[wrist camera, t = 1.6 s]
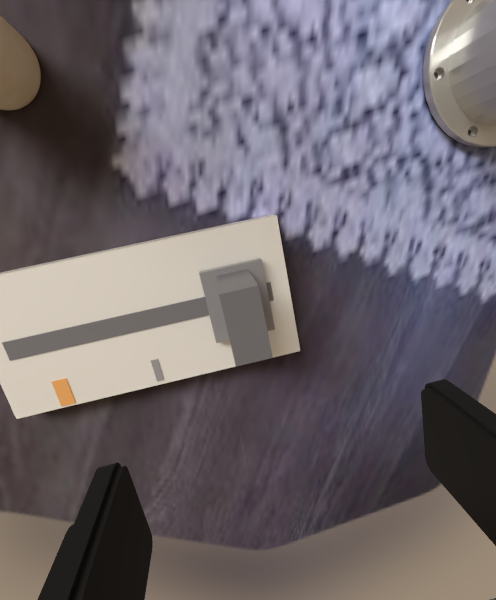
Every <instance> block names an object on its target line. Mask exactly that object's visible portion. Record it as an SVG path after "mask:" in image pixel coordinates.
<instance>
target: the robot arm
mask: <svg viewBox="0 0 496 600" xmlns="http://www.w3.org/2000/svg"><path fill="white" fill-rule="evenodd" d="M423 85H424V91H425V96H426V101H427V103H428V106H429V109H430V111H431V114H432V115H433V117H434V119H435V120H436V122H437V124H438V125H439V126H440V127H441V128H442V130H443V131H444V132H445V133H446V134H447V135H448V136H450V137H451V138H453V139H454V140H456V141H457V142H460V143H462V144H465V145H468V146H471V147H480V148H485V147H495V146H496V0H451V1H450V2H449V3H448V4H447V6H446V7H445V8H444V10H443V11H442V13H441V14H440V16H439V17H438V19H437V21H436V23H435V25H434V27H433V29H432V31H431V34H430V37H429V40H428V44H427V47H426V50H425V57H424V64H423ZM421 400H422V414H423V428H424V443H425V457H426V462H427V465H428V467H429V469H430V470H431V472H432V473H433V474H434V475H435V476H436V478H437V479H438V480H439V481H440V482H441V483H442V484H443V486H444V487H445V488H446V489H447V490H448V491H449V493H450V494H451V495H452V496H453V497H454V498H455V499H456V501H457V502H458V503H459V504H460V505H461V506H462V507H463V509H464V510H465V511H466V512H467V513H468V514H469V516H470V517H471V518H472V519H473V520H474V521H475V523H477V525H478V526H479V527H480V528H481V529H482V531H483V532H484V533H485V534H486V535H487V536H488V538H489V539H490V540H491V541H492V542H493V543H494V544H495V546H496V414H495V413H493V412H492V411H490V410H489V409H488V408H486V407H485V406H483V405H482V404H481V403H479V402H478V401H476V400H475V399H473V398H472V397H471V396H469V395H468V394H466V393H465V392H463V391H462V390H461V389H459V388H458V387H456V386H455V385H453V384H452V383H451V382H449V381H447V380H444V379H443V380H439V381H435V382H431V383H428V384H426V386H425V389H424V390H422V392H421ZM151 553H152V535H151V531H150V528H149V526H148V523H147V520H146V517H145V515H144V512H143V509H142V506H141V504H140V501H139V498H138V495H137V493H136V490H135V487H134V485H133V482H132V479H131V476H130V474H129V471H128V468H127V467H126V466H123V467H121V465H120V464H119V463H114V464H110V465H106V466H102V467H99V468H97V470H96V472H95V475H94V477H93V479H92V482H91V484H90V487H89V489H88V491H87V494H86V496H85V499H84V501H83V504H82V506H81V508H80V511H79V513H78V516H77V518H76V520H75V523H74V524H73V525H72V526H70V528H69V529H68V531H67V533H66V534H65V537H64V539H63V541H62V544H61V546H60V549H59V551H58V553H57V556H56V558H55V560H54V563H53V565H52V567H51V570H50V572H49V574H48V577H47V579H46V581H45V584H44V586H43V588H42V591H41V593H40V595H39V598H38V600H144V599H145V592H146V585H147V579H148V573H149V566H150V559H151ZM491 600H496V598H494V599H491Z"/></svg>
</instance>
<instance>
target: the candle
mask: <svg viewBox="0 0 496 600" xmlns="http://www.w3.org/2000/svg"><path fill="white" fill-rule="evenodd" d="M40 82H41V71H40V66H39V62H38V59H37V57H36V55H35V53H34V51H33V50H32V48H31V47H30V45H29V44H28V43H27V41H26V40H25V39H24V38H23V37H22V36H21V35H20V34H19V33H18V32H17V31H16V30H15V29H14V28H13V27H12V26H11V25H10V24H8V23H7V22H6V21H5V20H4V19H3V18H2V17H1V16H0V109H1V110H16V109H20V108H23V107H24V106H26V105H28V104H29V103H30V102H31V101H32V100H33V99H34V98H35V96H36V95H37V92H38V90H39V87H40Z"/></svg>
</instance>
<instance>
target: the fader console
mask: <svg viewBox="0 0 496 600" xmlns="http://www.w3.org/2000/svg"><path fill="white" fill-rule="evenodd" d="M258 258H261V259H262V264H263V269H264V274H265V280H266V285H267V290H268V295H269V300H270V306H271V311H272V316H273V321H274V326H275V330H271V331H268V336H269V341H270V346H271V351H272V356H273V357H277V356H282V355H286V354H290V353H294V352H298V351H300V346H299V340H298V334H297V329H296V323H295V317H294V311H293V306H292V300H291V294H290V288H289V282H288V277H287V271H286V265H285V259H284V254H283V248H282V242H281V236H280V231H279V225H278V219H277V215H267V216H262V217H258V218H253V219H248V220H244V221H239V222H234V223H230V224H225V225H220V226H216V227H211V228H206V229H202V230H197V231H192V232H188V233H183V234H178V235H174V236H169V237H164V238H160V239H155V240H150V241H146V242H141V243H136V244H132V245H127V246H122V247H118V248H113V249H108V250H104V251H99V252H94V253H90V254H85V255H80V256H76V257H71V258H66V259H62V260H57V261H52V262H48V263H43V264H38V265H34V266H29V267H24V268H20V269H15V270H10V271H6V272H1V273H0V384H1V386H2V388H3V391H4V393H5V395H6V397H7V399H8V402H9V404H10V406H11V408H12V410H13V412H14V415H15V417H16V419H18V418H23V417H27V416H31V415H35V414H39V413H44V412H48V411H52V410H56V409H60V408H64V407H69V406H73V405H77V404H81V403H85V402H89V401H94V400H98V399H102V398H106V397H110V396H114V395H119V394H123V393H127V392H131V391H135V390H140V389H144V388H148V387H152V386H156V385H160V384H165V383H169V382H173V381H177V380H181V379H185V378H190V377H194V376H198V375H202V374H206V373H211V372H215V371H219V370H223V369H227V368H231V367H236V365H235V361H234V357H233V352H232V348H231V344H230V340H228V341H224V342H219V343H216V340H215V336H214V332H213V328H212V324H211V320H210V315H209V311H208V307H207V303H206V299H205V295H204V291H203V287H202V283H201V279H200V275H199V271H203V270H208V269H212V268H217V267H221V266H226V265H230V264H235V263H239V262H244V261H249V260H253V259H258Z"/></svg>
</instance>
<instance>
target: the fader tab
mask: <svg viewBox="0 0 496 600" xmlns="http://www.w3.org/2000/svg"><path fill="white" fill-rule="evenodd" d="M199 275H200V279H201V283H202V287H203V291H204V295H205V299H206V303H207V307H208V311H209V315H210V320H211V324H212V328H213V332H214V336H215V340H216V343H219V342H224V341H228V340H230V344H231V348H232V352H233V357H234V361H235V365H236V366H241V365H245V364H249V363H253V362H257V361H261V360H266V359H270V358H273V356H272V351H271V346H270V341H269V336H268V331H271V330H275V326H274V321H273V316H272V311H271V306H270V300H269V295H268V290H267V285H266V280H265V274H264V269H263V264H262V259H261V258H258V259H253V260H249V261H244V262H239V263H235V264H230V265H226V266H221V267H217V268H212V269H208V270H203V271H199Z"/></svg>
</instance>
